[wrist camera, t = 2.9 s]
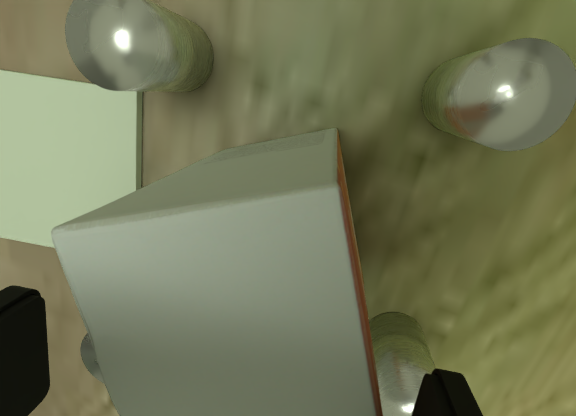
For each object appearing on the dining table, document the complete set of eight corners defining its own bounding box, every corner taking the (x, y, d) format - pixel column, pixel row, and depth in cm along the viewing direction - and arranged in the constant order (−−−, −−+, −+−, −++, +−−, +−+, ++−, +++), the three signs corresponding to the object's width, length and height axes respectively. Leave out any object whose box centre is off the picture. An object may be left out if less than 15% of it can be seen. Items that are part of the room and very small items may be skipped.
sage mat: (142, 90, 19) (136, 90, 19) (140, 259, 23) (135, 263, 22) (-21, 66, 20) (-31, 65, 20) (-1, 232, 23) (-9, 235, 23)
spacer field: (508, 62, 17) (595, 46, 11) (415, 367, 22) (441, 460, 17) (148, 13, 18) (62, -23, 13) (143, 311, 24) (81, 380, 18)
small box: (362, 265, 21) (399, 515, 8) (256, 279, 22) (152, 516, 10) (339, 123, 19) (342, 179, 6) (223, 146, 20) (34, 231, 7)
